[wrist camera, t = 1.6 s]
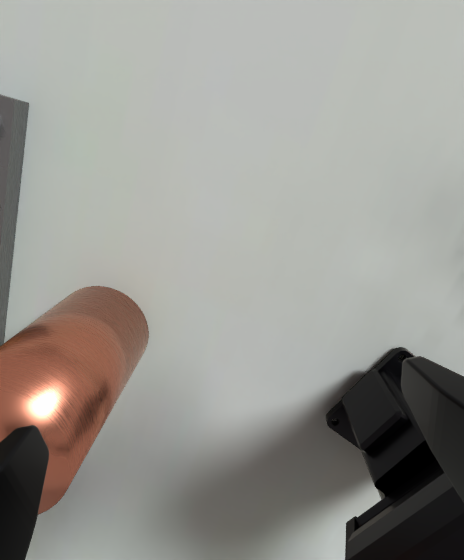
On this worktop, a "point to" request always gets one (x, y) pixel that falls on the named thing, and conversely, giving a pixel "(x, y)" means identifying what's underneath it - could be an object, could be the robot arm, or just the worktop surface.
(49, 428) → the copper cylinder
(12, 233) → the gray mounting plate
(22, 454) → the robot arm
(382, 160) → the worktop surface
